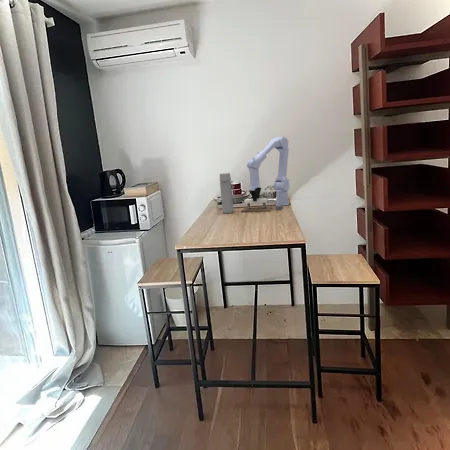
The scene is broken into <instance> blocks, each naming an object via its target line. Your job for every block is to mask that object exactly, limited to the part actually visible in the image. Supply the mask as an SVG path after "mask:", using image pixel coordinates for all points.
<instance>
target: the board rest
mask: <svg viewBox="0 0 450 450" xmlns="http://www.w3.org/2000/svg"><path fill="white" fill-rule="evenodd" d="M276 204H277V203H276ZM276 204H275V210H276V211H281V210H283V205H282V204H277V205H276Z"/></svg>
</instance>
